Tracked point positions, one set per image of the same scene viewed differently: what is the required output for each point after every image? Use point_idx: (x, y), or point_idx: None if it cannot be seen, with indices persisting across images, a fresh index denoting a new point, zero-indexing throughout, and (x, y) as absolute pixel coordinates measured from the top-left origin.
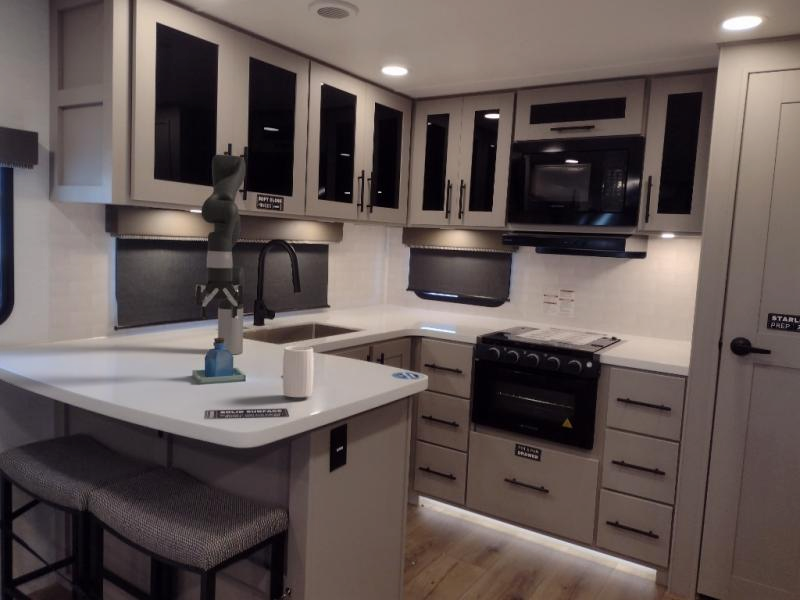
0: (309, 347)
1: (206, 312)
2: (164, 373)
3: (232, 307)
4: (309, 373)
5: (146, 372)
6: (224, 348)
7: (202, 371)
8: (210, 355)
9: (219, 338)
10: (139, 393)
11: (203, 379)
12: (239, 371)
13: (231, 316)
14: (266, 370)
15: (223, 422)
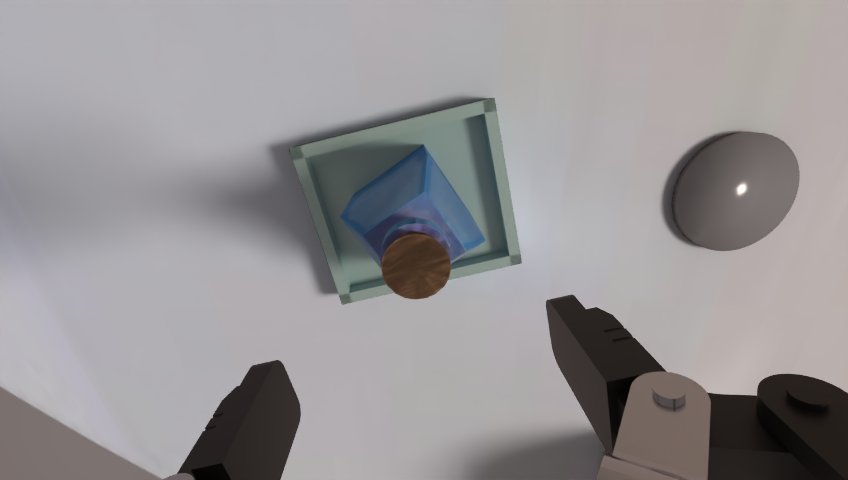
0: None
1: (279, 471)
2: (154, 78)
3: (602, 423)
4: None
5: (58, 46)
6: (443, 219)
7: (335, 149)
8: (370, 253)
9: (416, 258)
10: (178, 388)
11: (360, 298)
12: (500, 187)
13: (548, 302)
14: (630, 46)
15: None
